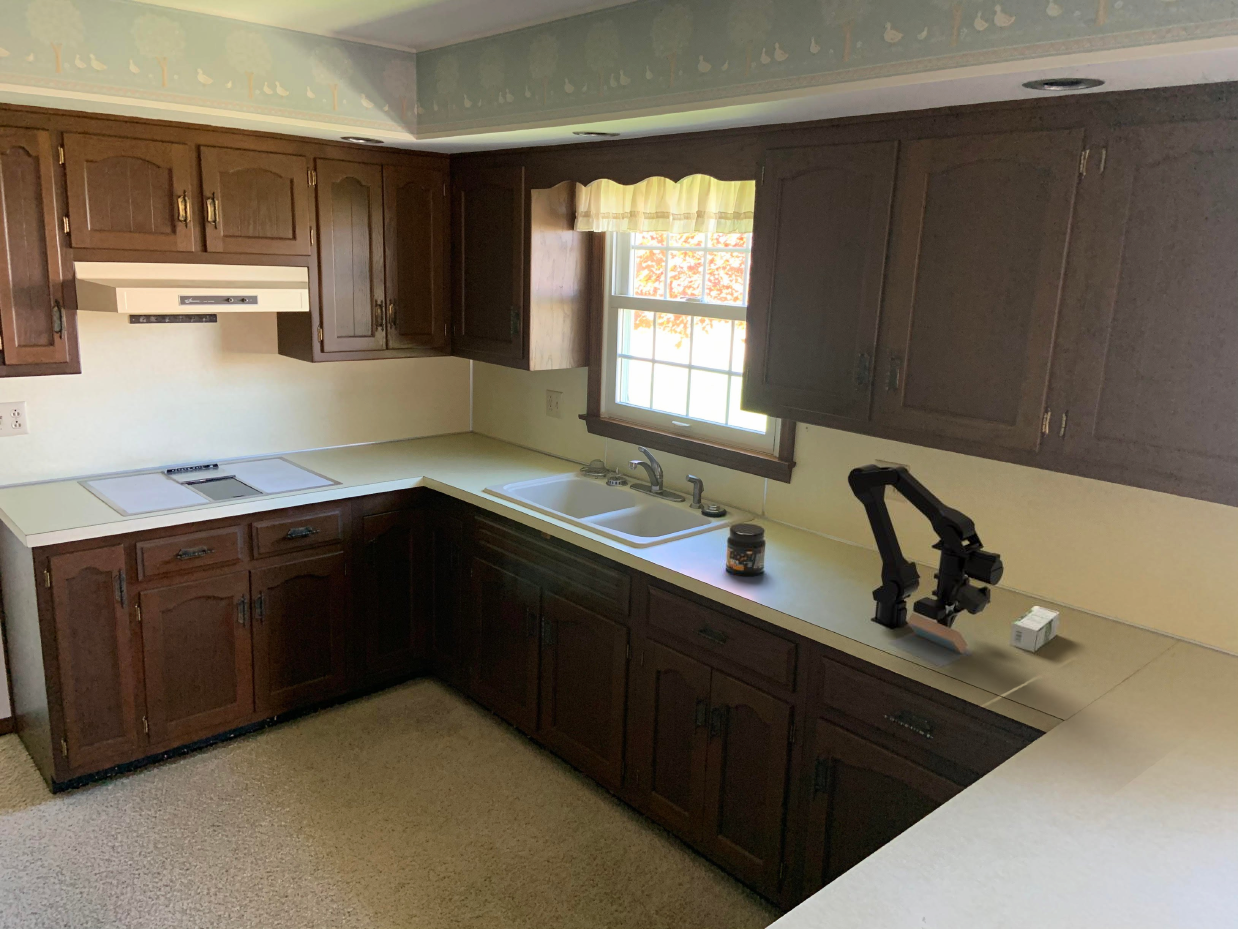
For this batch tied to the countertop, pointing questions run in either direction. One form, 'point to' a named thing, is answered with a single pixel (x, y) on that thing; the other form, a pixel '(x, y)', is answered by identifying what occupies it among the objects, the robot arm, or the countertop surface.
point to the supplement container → (745, 549)
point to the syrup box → (1034, 628)
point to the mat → (928, 649)
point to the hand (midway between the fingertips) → (944, 634)
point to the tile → (937, 633)
